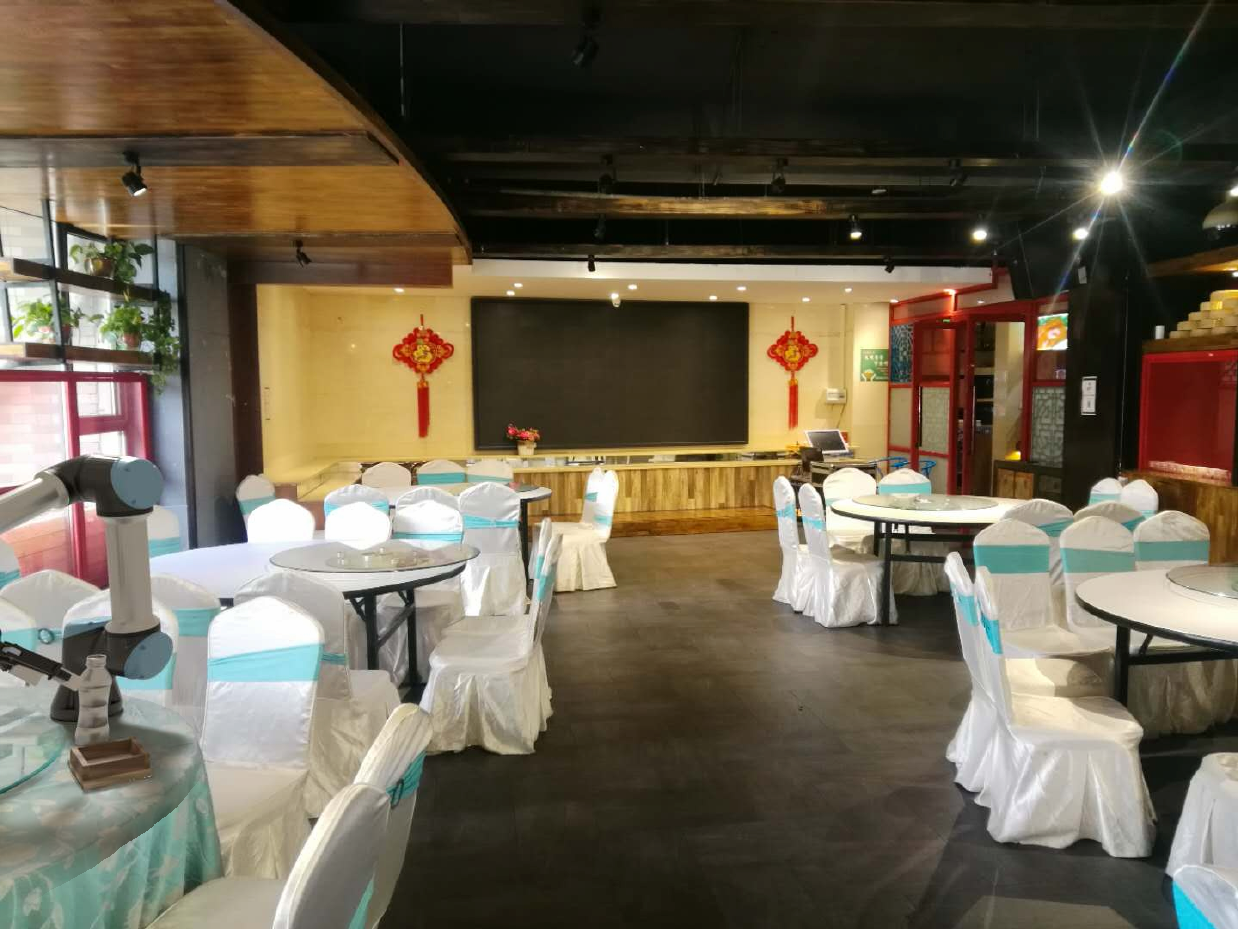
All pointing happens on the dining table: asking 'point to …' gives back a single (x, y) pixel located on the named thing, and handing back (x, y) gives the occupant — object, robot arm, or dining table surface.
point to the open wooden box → (109, 762)
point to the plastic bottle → (93, 702)
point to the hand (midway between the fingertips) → (58, 682)
